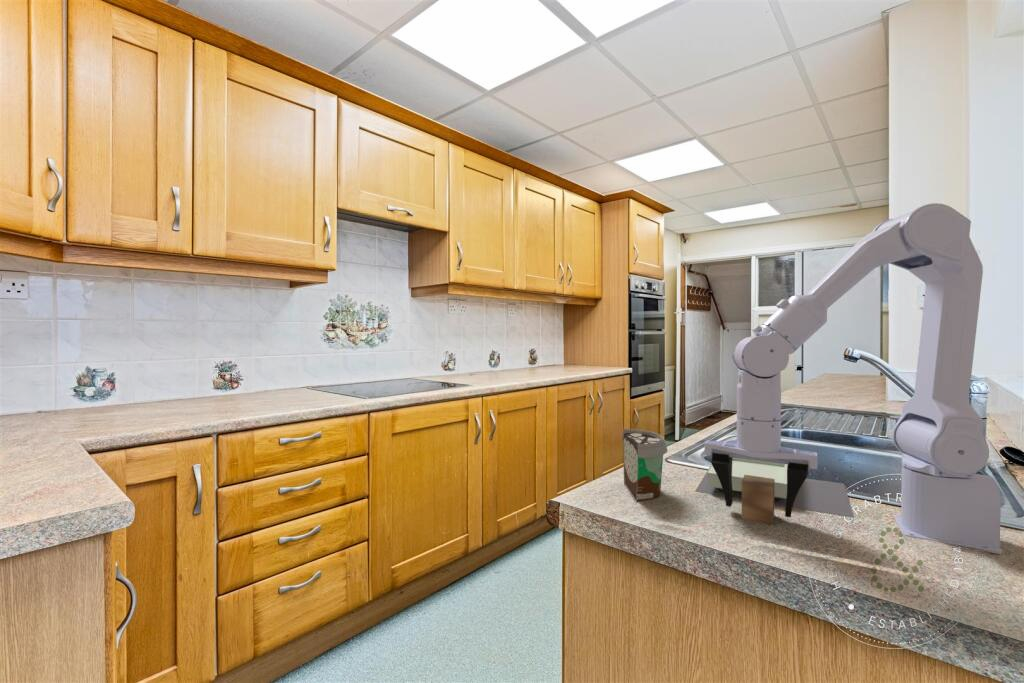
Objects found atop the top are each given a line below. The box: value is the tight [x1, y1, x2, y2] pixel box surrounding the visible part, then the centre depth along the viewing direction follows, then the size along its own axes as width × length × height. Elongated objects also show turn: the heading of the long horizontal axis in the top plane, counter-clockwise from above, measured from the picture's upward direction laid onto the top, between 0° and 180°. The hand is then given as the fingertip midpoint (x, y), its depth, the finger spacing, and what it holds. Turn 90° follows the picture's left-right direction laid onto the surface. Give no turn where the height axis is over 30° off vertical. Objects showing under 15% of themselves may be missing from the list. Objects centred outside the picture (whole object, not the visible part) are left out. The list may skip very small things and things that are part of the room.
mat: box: [694, 465, 855, 519], centre depth 81 cm, size 22×17×1 cm
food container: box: [621, 428, 668, 504], centre depth 80 cm, size 12×6×10 cm, turn 179°
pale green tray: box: [706, 458, 788, 501], centre depth 82 cm, size 12×17×4 cm
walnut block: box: [741, 475, 775, 526], centre depth 68 cm, size 4×4×6 cm
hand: (757, 509), depth 68 cm, fingers open, 7 cm apart
